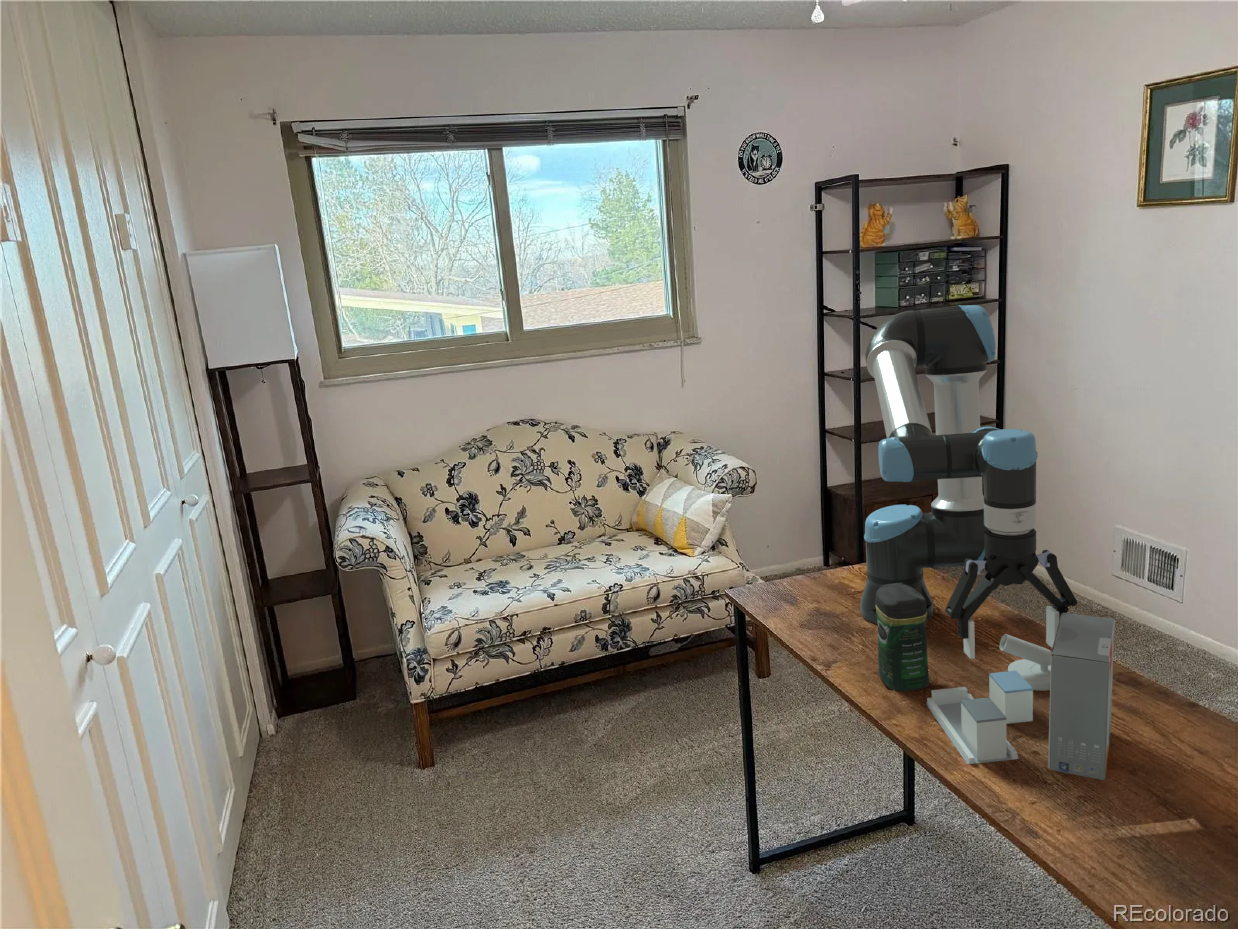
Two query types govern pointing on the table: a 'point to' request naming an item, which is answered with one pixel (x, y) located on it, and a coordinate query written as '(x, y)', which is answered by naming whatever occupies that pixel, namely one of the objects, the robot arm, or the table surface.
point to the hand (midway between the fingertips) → (1010, 650)
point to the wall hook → (1029, 661)
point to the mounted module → (984, 729)
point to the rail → (957, 721)
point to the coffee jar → (902, 637)
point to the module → (1011, 696)
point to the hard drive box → (1081, 695)
